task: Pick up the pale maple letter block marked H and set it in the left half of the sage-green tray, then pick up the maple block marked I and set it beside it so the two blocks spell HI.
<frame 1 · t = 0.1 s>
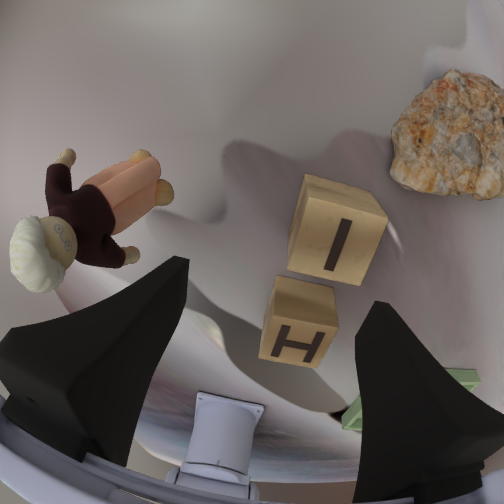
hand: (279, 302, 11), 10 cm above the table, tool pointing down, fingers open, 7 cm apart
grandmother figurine: (145, 172, 20), on the table
rock: (452, 135, 16), on the table
letter i: (328, 213, 20), on the table
tray: (410, 396, 29), on the table
letter h: (297, 303, 24), on the table
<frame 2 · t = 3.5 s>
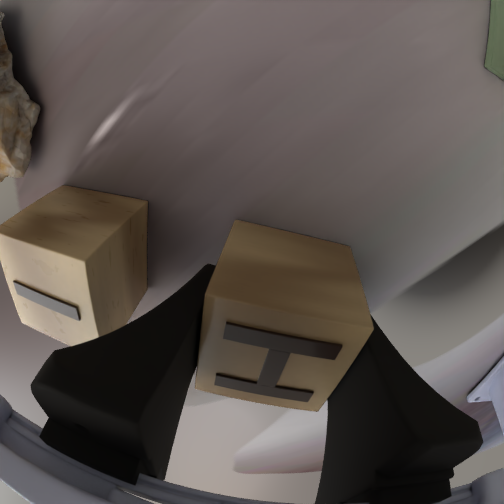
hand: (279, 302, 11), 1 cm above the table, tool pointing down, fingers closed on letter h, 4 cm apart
letter i: (103, 238, 12), on the table
letter h: (280, 280, 12), on the table, touching gripper
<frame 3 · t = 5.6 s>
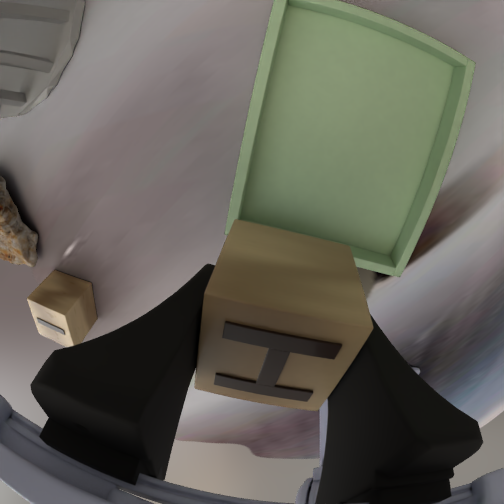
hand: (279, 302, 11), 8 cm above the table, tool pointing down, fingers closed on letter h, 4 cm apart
rock: (9, 212, 21), on the table
letter i: (75, 294, 25), on the table
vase: (23, 37, 13), on the table
tray: (350, 134, 15), on the table
letter h: (279, 279, 12), point 7 cm above the table, touching gripper
when the fingers open (2 cm above the table, at t = 8.0 s): letter h stays where it is, resting on tray.
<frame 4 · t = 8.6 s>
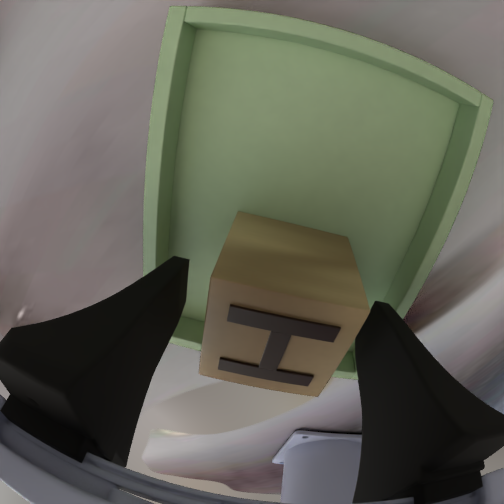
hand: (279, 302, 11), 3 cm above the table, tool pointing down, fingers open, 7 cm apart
tray: (296, 214, 12), on the table
letter h: (280, 270, 13), resting on tray
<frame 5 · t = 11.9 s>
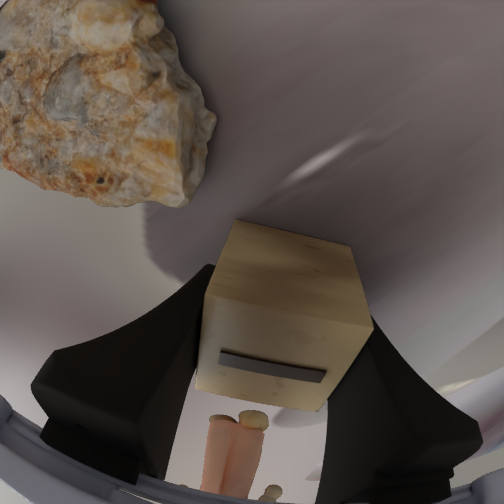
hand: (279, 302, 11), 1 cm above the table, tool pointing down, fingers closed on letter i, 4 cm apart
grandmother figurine: (234, 419, 19), on the table
rock: (110, 77, 9), on the table
letter i: (280, 280, 12), on the table, touching gripper
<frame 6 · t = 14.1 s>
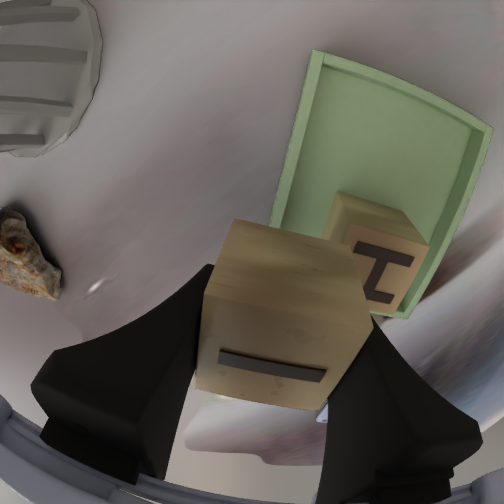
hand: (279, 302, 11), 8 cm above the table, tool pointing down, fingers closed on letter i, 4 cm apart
rock: (29, 246, 23), on the table
letter i: (279, 279, 12), point 7 cm above the table, touching gripper
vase: (35, 71, 15), on the table
tray: (371, 195, 17), on the table
letter h: (359, 233, 18), resting on tray
when the fingers open (2 cm above the table, at t = 16.7 s): letter i stays where it is, resting on tray.
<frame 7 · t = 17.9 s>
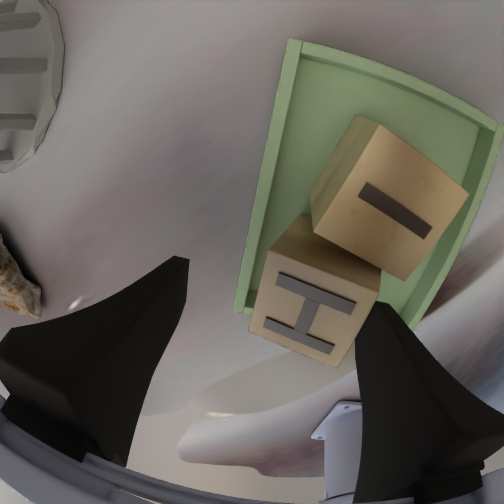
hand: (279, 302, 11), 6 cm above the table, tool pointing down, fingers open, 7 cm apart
rock: (9, 262, 21), on the table
letter i: (370, 177, 14), point 1 cm above the table, touching tray
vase: (3, 82, 13), on the table
tray: (364, 206, 15), on the table
letter h: (329, 265, 16), point 1 cm above the table, tilted 18°, touching gripper, tray
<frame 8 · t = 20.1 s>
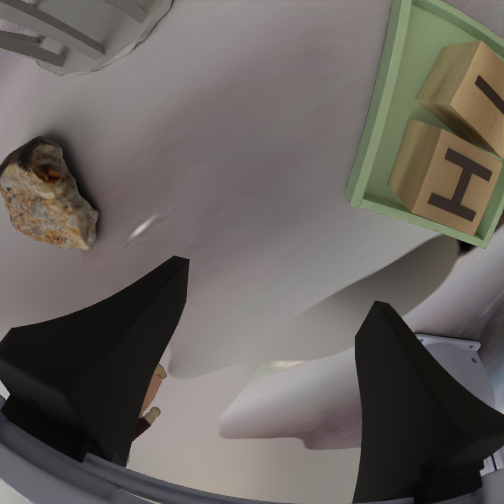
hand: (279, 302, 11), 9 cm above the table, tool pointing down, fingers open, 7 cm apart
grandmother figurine: (147, 370, 31), on the table
rock: (58, 187, 20), on the table
letter i: (455, 94, 13), resting on tray
tray: (450, 120, 15), on the table
letter h: (427, 163, 16), resting on tray
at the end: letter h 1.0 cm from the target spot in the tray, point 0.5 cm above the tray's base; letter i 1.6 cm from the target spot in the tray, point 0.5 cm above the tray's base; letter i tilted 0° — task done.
